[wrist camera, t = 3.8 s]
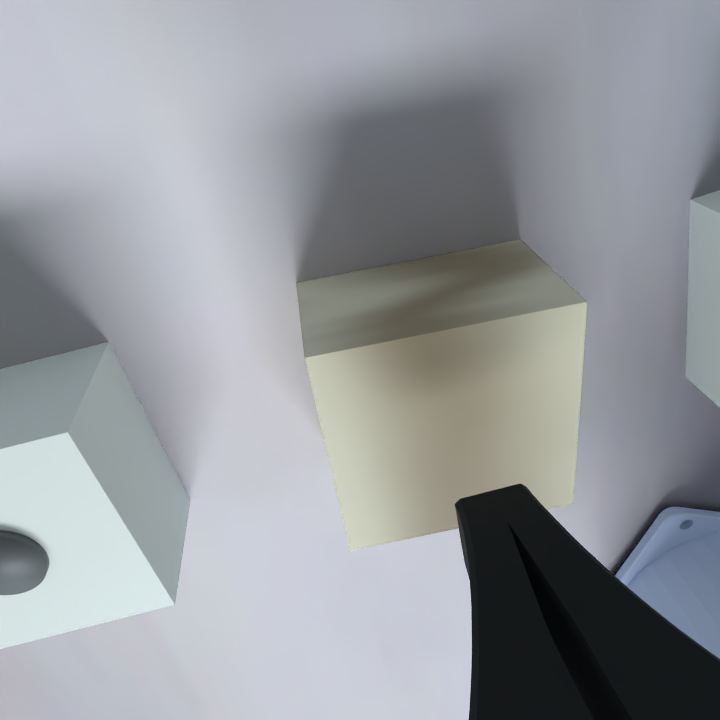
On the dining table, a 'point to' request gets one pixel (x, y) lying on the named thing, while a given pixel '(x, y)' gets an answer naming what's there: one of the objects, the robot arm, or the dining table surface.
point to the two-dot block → (704, 296)
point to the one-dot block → (82, 499)
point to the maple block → (444, 385)
